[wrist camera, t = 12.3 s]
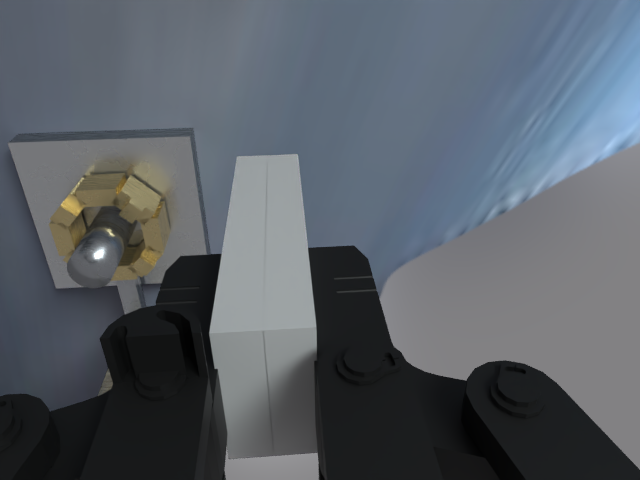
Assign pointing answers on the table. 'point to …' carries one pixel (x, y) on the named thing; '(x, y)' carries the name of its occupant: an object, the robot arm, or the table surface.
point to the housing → (104, 221)
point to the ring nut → (134, 206)
